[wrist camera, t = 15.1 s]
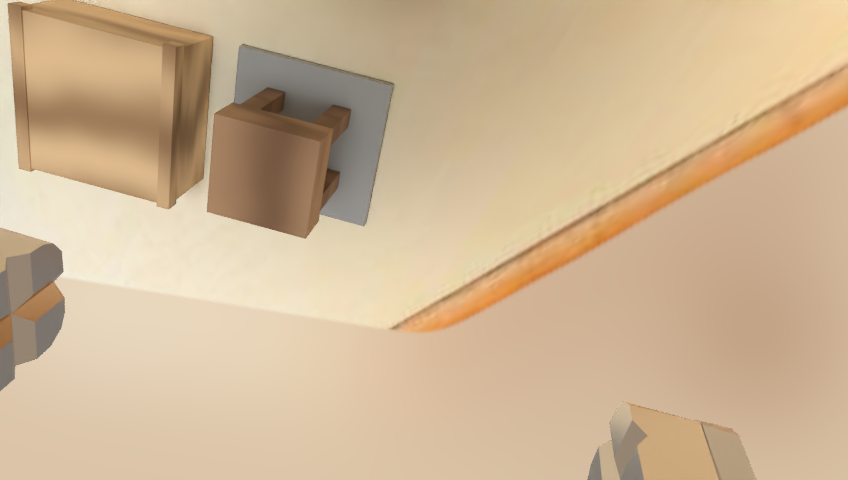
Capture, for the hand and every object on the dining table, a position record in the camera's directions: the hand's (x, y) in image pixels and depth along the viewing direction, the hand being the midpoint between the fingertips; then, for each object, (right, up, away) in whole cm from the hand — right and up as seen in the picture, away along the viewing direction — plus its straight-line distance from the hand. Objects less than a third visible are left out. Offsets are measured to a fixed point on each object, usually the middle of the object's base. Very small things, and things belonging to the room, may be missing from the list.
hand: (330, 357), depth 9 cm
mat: (-6, +9, +35) cm, 37 cm away
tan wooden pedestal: (-18, +12, +36) cm, 42 cm away
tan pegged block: (-7, +8, +34) cm, 36 cm away
